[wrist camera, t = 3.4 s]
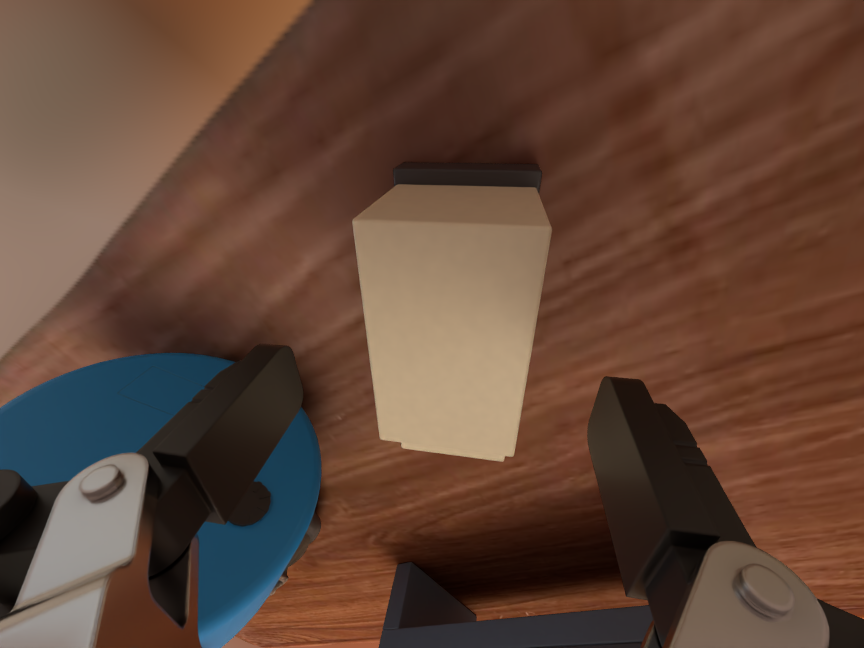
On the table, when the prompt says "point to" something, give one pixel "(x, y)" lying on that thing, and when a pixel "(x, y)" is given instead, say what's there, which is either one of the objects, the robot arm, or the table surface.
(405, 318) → the tan stepped block
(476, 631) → the grey stand
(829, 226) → the table surface
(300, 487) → the alarm clock
